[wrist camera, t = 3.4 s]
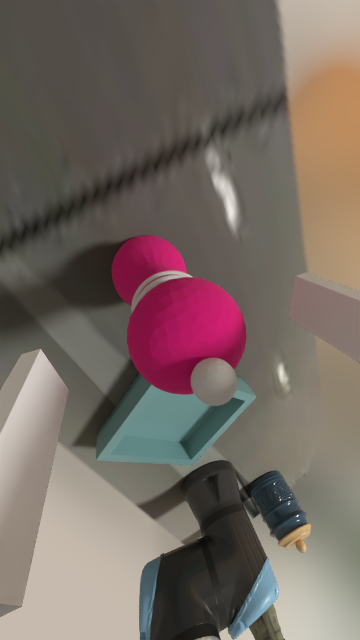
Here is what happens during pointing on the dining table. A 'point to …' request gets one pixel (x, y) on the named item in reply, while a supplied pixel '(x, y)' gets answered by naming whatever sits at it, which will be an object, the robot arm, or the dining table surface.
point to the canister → (280, 510)
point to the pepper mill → (178, 322)
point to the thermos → (267, 626)
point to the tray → (165, 425)
